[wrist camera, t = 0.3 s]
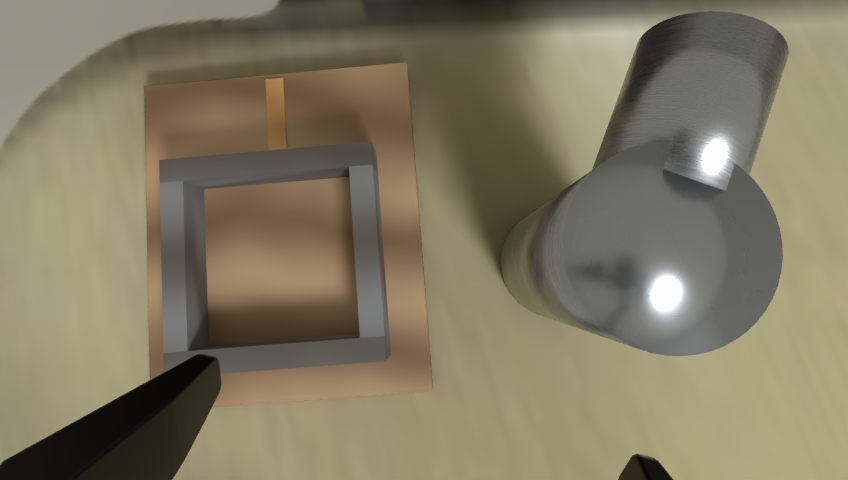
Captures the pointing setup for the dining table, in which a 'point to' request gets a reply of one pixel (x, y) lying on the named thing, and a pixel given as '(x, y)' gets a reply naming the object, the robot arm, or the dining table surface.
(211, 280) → the base
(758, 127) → the duct elbow
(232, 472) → the dining table surface
